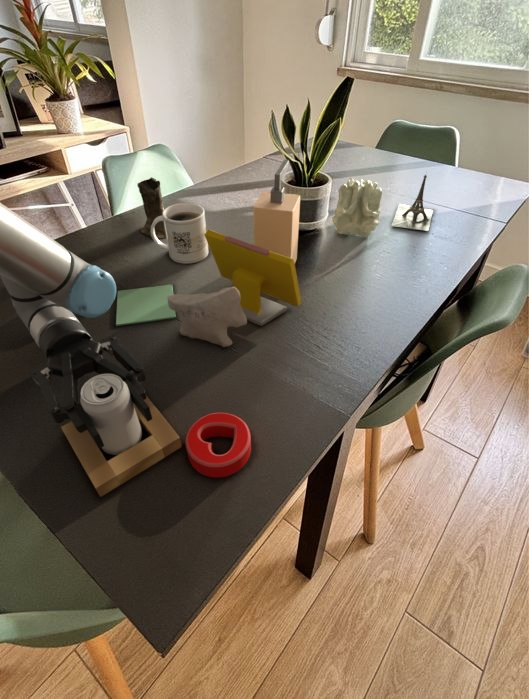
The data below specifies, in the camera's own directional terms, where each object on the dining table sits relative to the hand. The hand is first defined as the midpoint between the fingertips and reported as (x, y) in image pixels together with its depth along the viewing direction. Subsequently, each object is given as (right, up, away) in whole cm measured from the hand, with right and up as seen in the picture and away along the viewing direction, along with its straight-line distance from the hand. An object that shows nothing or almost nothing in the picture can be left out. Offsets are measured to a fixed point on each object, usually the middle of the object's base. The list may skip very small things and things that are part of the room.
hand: (124, 427), depth 57 cm
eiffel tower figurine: (+61, +48, +64) cm, 101 cm away
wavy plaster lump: (+44, +44, +60) cm, 86 cm away
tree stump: (-10, +43, +60) cm, 74 cm away
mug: (-1, +35, +51) cm, 61 cm away
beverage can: (-3, -4, +9) cm, 10 cm away
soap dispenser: (+22, +32, +48) cm, 61 cm away
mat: (-7, +20, +35) cm, 41 cm away
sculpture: (+8, +12, +26) cm, 30 cm away
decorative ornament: (+12, -5, +8) cm, 15 cm away
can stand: (-3, -4, +9) cm, 10 cm away
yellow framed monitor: (+16, +19, +34) cm, 42 cm away
